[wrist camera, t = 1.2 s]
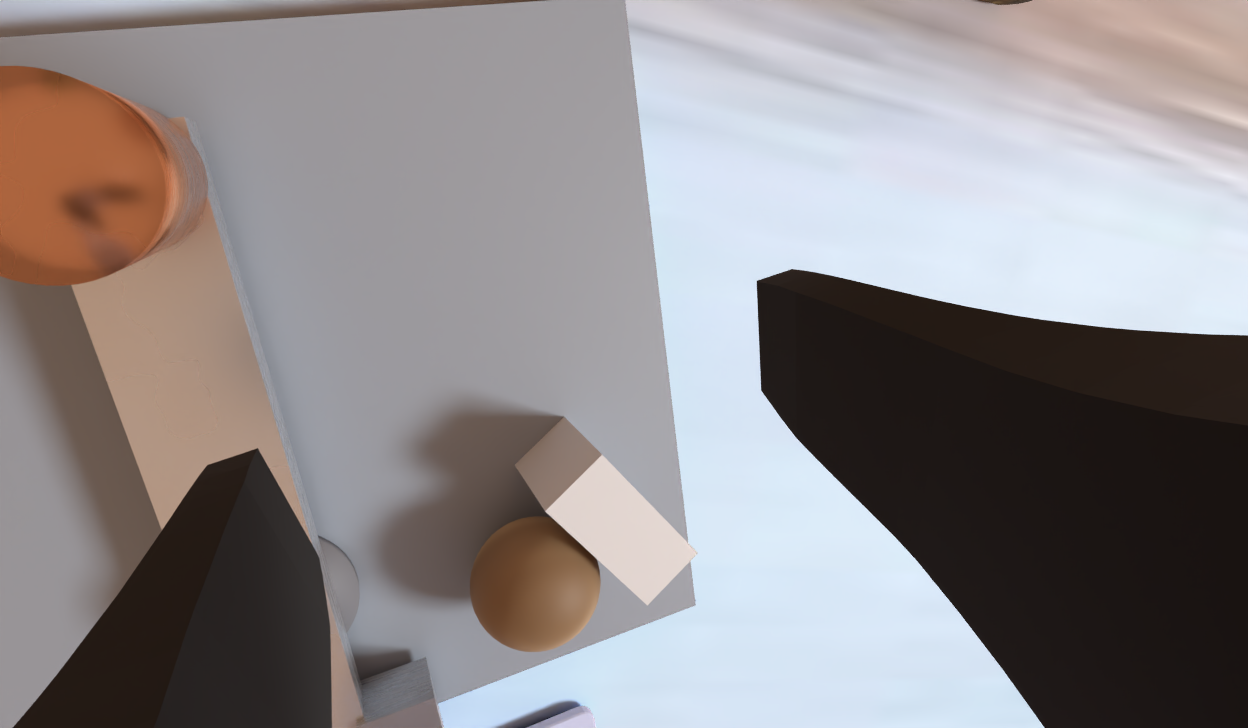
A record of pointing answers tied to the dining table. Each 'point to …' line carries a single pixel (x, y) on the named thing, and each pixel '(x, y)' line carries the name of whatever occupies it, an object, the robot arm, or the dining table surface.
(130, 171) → the lever
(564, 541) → the brown sphere
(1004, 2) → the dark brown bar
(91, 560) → the flat white platform
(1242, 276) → the dining table surface
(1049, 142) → the dining table surface
